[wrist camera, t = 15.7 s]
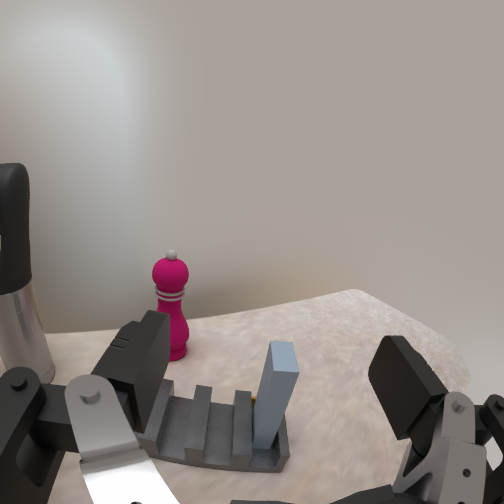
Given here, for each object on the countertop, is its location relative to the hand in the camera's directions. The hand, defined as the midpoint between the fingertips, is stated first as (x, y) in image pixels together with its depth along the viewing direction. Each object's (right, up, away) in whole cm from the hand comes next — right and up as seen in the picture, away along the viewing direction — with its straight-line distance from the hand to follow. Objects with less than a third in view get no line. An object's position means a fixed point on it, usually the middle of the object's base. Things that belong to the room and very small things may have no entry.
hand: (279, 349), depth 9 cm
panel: (0, -21, +22) cm, 30 cm away
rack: (-8, -22, +21) cm, 32 cm away
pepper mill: (-16, -15, +38) cm, 44 cm away
